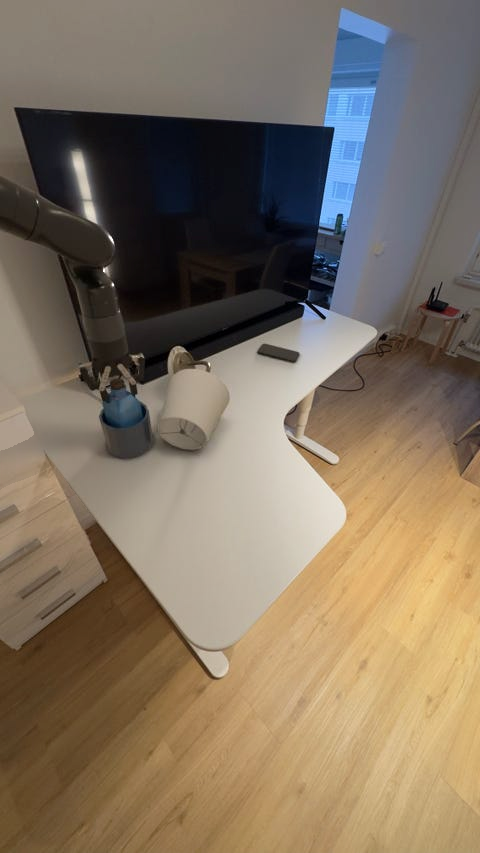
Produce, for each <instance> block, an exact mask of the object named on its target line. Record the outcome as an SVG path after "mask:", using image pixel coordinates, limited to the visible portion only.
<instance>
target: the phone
mask: <svg viewBox="0 0 480 853" xmlns="http://www.w3.org/2000/svg"><path fill="white" fill-rule="evenodd" d="M257 353H258V354H260V355H264V356H267V357H271V358H275V359H279V360H282V361H286V362H291V363H296V362H297V360H298V358H299V356H300V352H299V351H297V350H292V349H288V348H284V347H281V346H276V345H272V344H269V343H262V344H260V346H259V347H258V348H257Z"/></svg>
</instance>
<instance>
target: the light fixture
mask: <svg viewBox="0 0 480 853" xmlns="http://www.w3.org/2000/svg"><path fill="white" fill-rule="evenodd" d="M196 366H205V367H206V369H205V370H203V369H199V368H196ZM211 370H212V366H211V363H210V362H208V361H206V360H194V357H193V356H192V355H191V354H190V352H188V351H187V350H186V349H185V348H184V347H183V346H180V345H179V346H174V347H173V348H172V349H171V350H170V352H169V354H168V357H167V373H168V374H167V375H168V378H169V383H168V387H167V390H166V394H165V398H164V400H163V404H162V408H161V412H160V416H159V419H158V422H157V432H158V434H159V436H161V438H162V439H163V440H164V441H165V442H167V443H168V444H170V445H172V446H174V447H176V448H178V449H183V450H186V451H187V450H188V451H193V450H199V449H202V448H203V447H204V446H205V445H206V444H207V443H208V440H209V439H210V438H211V436H212V434H213V433H214V431H215V428H216V427H217V425H218V424H219V421H220V419H221V418H222V416H223V414H224V412H225V411H226V409H227V407H228V405H229V403H230V398H231V396H230V391H229V389H228V387H227V386H226V384H225V383H224V382H223V380H221V379H220V378H219V377H218V376H216V375H214V374H213V373H211Z"/></svg>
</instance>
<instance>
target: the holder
mask: <svg viewBox="0 0 480 853" xmlns="http://www.w3.org/2000/svg"><path fill="white" fill-rule="evenodd" d="M139 401H140V404H141V410H142V416H143V420H142V421H141V422H139V423H137V424H135V425H134V426H130V427H126V428H114V427H113V426H111V425H110V424H108V423H107V420H106V416H105V412H104V408H103V407H102V409H101V410H100V413H99V415H98V419H99V423H100V427H101V429H102V433H103V437H104V440H105V444H106V448H107V450H108V452H109V453H110V454H111V455H112V456H114V457H116V458H119V459H127V460H128V459H134V458H137V457H140V456H142V455H145V454H146V453H147V452H148V451H149V450H150V449H151V448H152V446H153V444H154V434H153V429H152V422H151V417H150V410H149V408H148V406H147V405H146V403H144V402H142V401H141V400H139Z"/></svg>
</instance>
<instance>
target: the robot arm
mask: <svg viewBox="0 0 480 853" xmlns="http://www.w3.org/2000/svg"><path fill="white" fill-rule="evenodd" d="M0 232H2V233H5V234H6V235H9V236H11V237H14V238H17V239H18V240H21V241H24V242H27V243H29V244H33V245H36V246H39V247H42V248H44V249H47V250H49V251H51V252H53V253H55V254H57V255H59V256H61V258H62V260H63V263H64V265H65V267H66V270H67V272H68V275H69V277H70V279H71V281H72V284H73V285H74V287H75V291H76V295H77V299H78V303H79V307H80V310H81V315H82V316H81V317H82V324H83V327H84V333H85V336H86V339H87V343H88V347H89V351H90V354H91V355H90V356H91V359H90V362H86V363H84V362H80V363H79V364H78V369H79V372H80V374H81V376H82V378H83V380H84V382H85V383H86V385H87V387H88V388H89V390H90V391H92V392H93V391H96V390H97V391H99V394H100V398H101V401H102V402H104V401H106V403H109V399H108V395H107V394H108V391H107V387H106V386H107V383H108V381H109V378H113V377H116V376H119V377H121V376H124V378H125V379H126V380H127V381H128V386H129V392H130V393H132V396H134V397H136V395H138V386H137V383H139V382H143V381H144V378H145V365H146V359H145V356H144V354H143V353H142V352H138V353H137V354H131V353H130V350H129V346H128V340H127V335H126V327H125V323H124V319H123V316H122V313H121V310H120V303H119V298H118V293H117V288H116V286H115V284H114V281H112V279H111V278H110V276H108V274H107V272H106V270H105V268H107V267H109V266H110V265H112V263H113V262H114V260H115V258H116V253H117V252H116V250H117V249H116V245H115V244H116V243H115V241H114V239H113V237H112V235H111V234H110V233H109V231H107V229H106V228H105V227H103V226H102V225H100V224H99V223H96V222H94V221H92V220H90V219H88V218H86V217H83V216H81V215H79V214H77V213H75V212H72V211H71V210H68V209H66V208H63V207H62V206H59V205H57V204H55V203H53V202H52V201H50V200H49V199H47V198H45V197H44V196H42V194H40V193H37V191H33V190H32V189H30V188H28V187H26V186H24V185H23V184H21V183H19V182H17V181H15V180H13V179H11V178H9V177H7V176H5V175H3V174H1V173H0ZM132 362H134V365H136V366H135V373H134V374H133V373H132V371H130V369H129V368H130V365H131V364H132ZM92 369H94V370H96V371H97V372H98V379H97V381H94V379H93V377H92V375H91V374H92Z"/></svg>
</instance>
